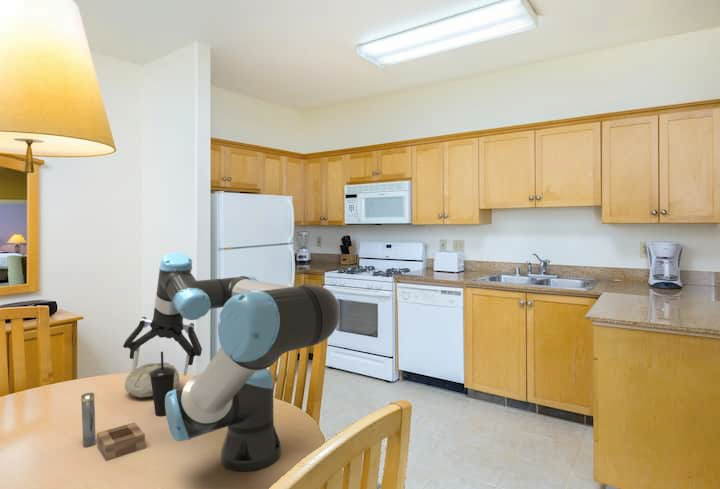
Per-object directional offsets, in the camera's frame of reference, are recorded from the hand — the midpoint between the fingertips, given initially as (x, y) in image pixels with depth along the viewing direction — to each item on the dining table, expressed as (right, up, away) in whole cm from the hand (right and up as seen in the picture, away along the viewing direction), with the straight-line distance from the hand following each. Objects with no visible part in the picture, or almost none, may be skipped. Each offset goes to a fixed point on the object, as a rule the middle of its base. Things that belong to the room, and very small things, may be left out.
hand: (160, 369), depth 125 cm
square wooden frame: (-8, -19, -6) cm, 22 cm away
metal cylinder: (-18, -19, -5) cm, 27 cm away
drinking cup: (-6, -19, +15) cm, 25 cm away
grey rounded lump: (-17, -18, +32) cm, 41 cm away
